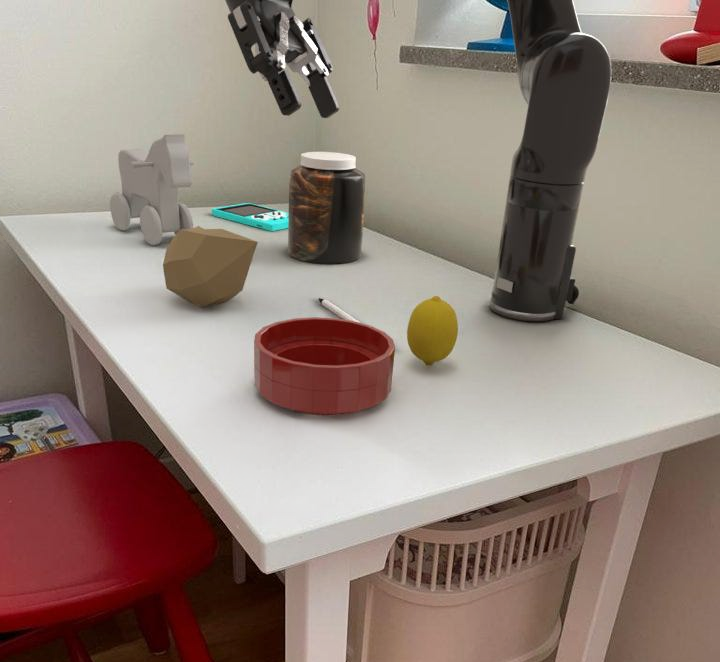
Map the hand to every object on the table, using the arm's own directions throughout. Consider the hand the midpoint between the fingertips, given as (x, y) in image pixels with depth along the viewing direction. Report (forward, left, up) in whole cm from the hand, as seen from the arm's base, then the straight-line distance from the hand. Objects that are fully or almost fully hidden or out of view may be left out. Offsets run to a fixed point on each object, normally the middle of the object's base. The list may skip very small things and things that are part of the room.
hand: (313, 113), depth 83 cm
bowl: (-2, +19, -24) cm, 31 cm away
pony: (+25, -41, -24) cm, 54 cm away
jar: (-3, -35, -24) cm, 43 cm away
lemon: (-14, +11, -24) cm, 30 cm away
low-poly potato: (+13, -10, -24) cm, 29 cm away
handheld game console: (+9, -58, -24) cm, 64 cm away
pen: (-6, -2, -24) cm, 25 cm away
